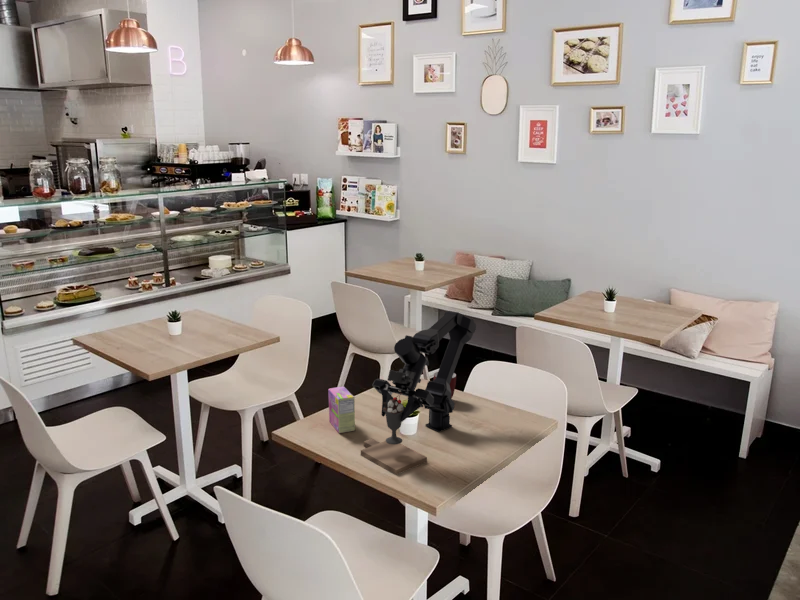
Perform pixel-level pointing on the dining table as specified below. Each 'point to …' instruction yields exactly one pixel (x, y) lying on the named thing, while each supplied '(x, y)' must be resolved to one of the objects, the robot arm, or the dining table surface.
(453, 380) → the mug
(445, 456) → the dining table surface
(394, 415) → the sundae
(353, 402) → the box
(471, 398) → the dining table surface
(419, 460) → the board
